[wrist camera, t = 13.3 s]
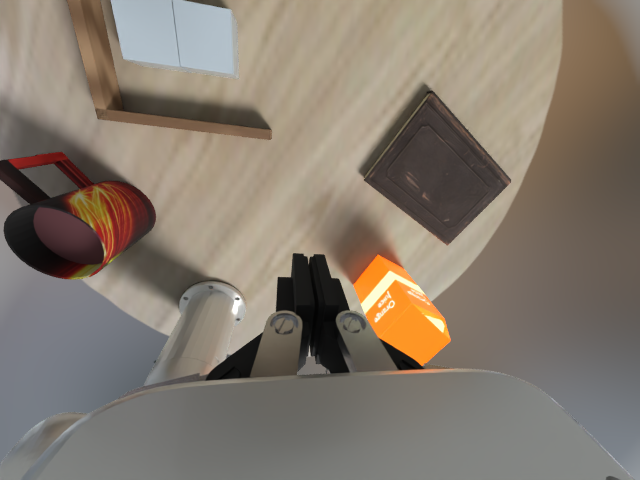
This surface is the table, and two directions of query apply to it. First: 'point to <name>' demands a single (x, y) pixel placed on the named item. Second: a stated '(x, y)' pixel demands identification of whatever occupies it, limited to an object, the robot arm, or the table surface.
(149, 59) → the tile
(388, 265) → the orange juice
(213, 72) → the tile
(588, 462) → the robot arm
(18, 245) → the mug
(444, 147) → the hardcover book
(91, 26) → the frame
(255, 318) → the table surface
